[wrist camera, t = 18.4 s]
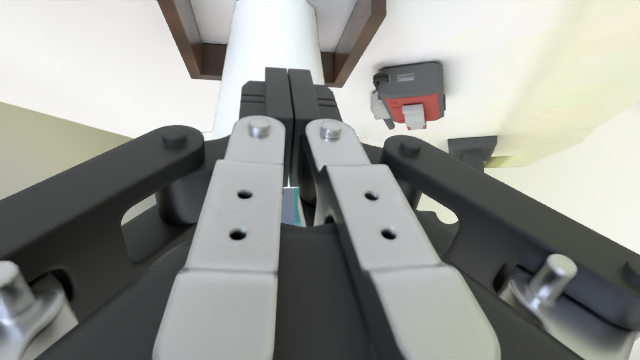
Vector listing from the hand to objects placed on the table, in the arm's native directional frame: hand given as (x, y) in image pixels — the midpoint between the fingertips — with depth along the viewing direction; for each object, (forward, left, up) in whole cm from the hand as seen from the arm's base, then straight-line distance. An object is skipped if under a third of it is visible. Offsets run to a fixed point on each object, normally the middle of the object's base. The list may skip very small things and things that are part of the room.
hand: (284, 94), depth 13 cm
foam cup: (-8, -13, -12) cm, 20 cm away
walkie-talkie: (0, -35, -12) cm, 37 cm away
